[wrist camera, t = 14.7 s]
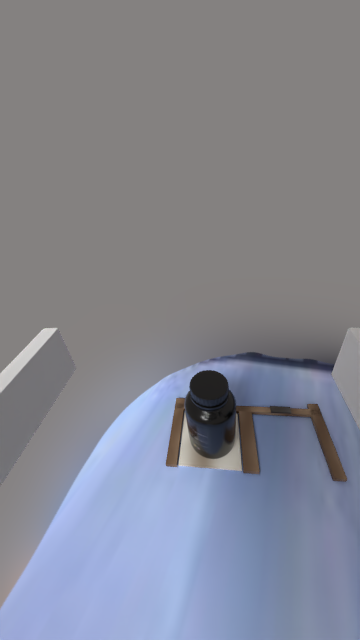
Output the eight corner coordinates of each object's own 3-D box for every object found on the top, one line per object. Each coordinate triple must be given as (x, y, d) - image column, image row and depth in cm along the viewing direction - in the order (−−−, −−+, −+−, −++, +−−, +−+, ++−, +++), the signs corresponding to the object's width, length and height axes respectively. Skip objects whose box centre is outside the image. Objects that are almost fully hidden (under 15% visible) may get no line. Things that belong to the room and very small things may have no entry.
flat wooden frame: (316, 406, 40) (318, 403, 39) (346, 481, 31) (348, 478, 30) (176, 400, 43) (176, 397, 43) (166, 466, 34) (165, 462, 34)
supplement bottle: (209, 409, 41) (207, 356, 34) (244, 437, 36) (250, 382, 30) (179, 437, 37) (170, 384, 30) (213, 472, 33) (212, 419, 26)
